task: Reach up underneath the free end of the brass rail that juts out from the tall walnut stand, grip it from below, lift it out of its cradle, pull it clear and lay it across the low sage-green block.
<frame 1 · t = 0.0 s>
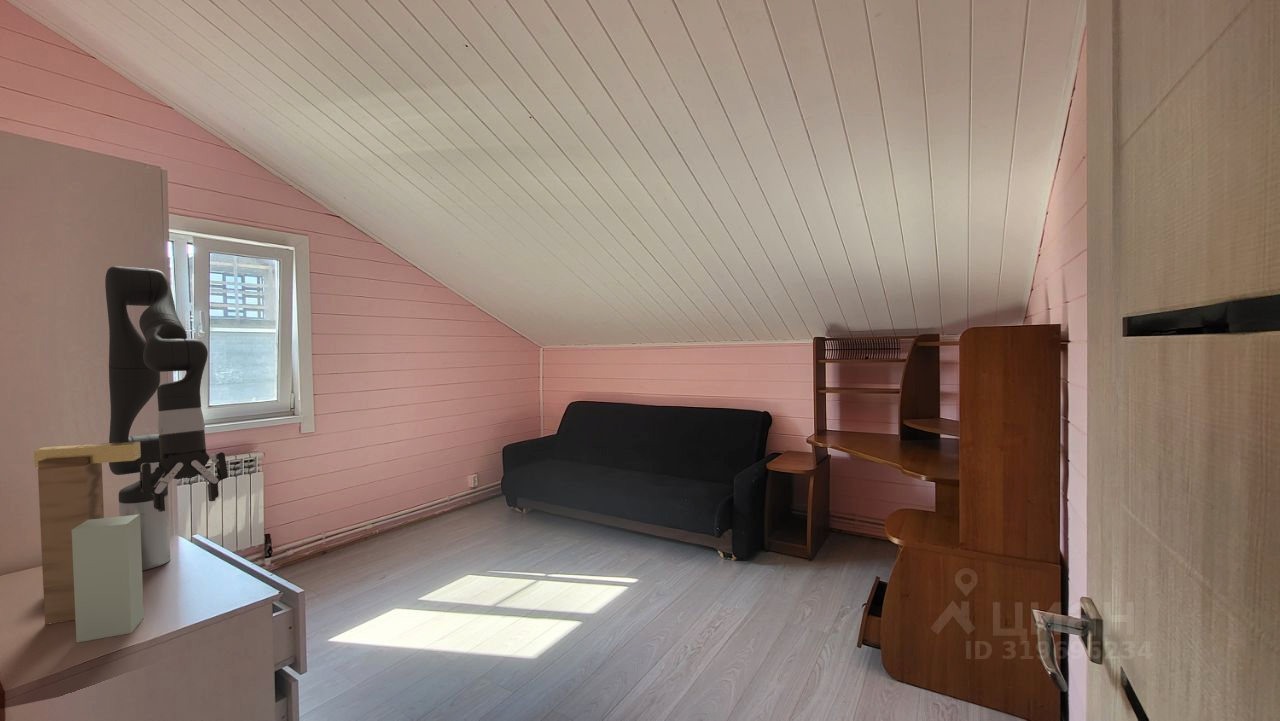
hand: (187, 505, 114), 22 cm above the dresser, tool pointing down, fingers open, 8 cm apart
stand: (77, 612, 113), on the dresser
block: (111, 630, 106), on the dresser
rail: (90, 462, 112), point 32 cm above the dresser, touching stand
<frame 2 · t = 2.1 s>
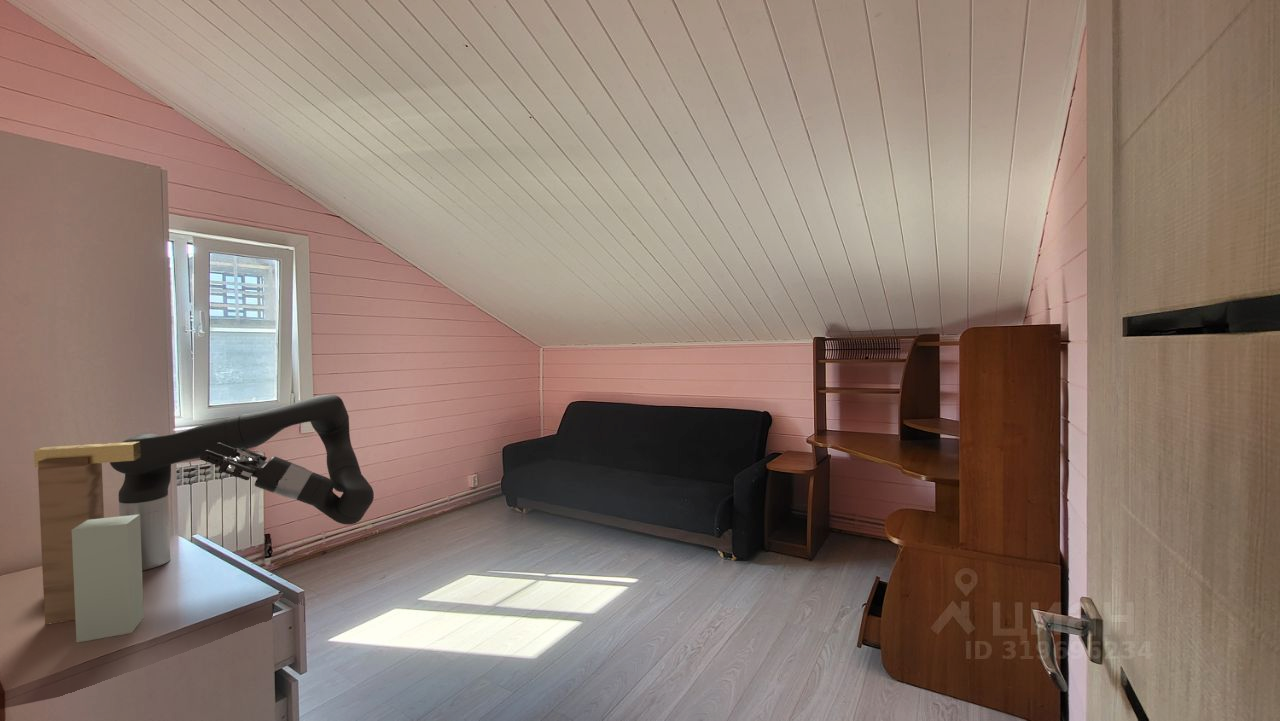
hand: (208, 450, 120), 33 cm above the dresser, tool pointing upward, fingers open, 8 cm apart
nothing on the dresser moved.
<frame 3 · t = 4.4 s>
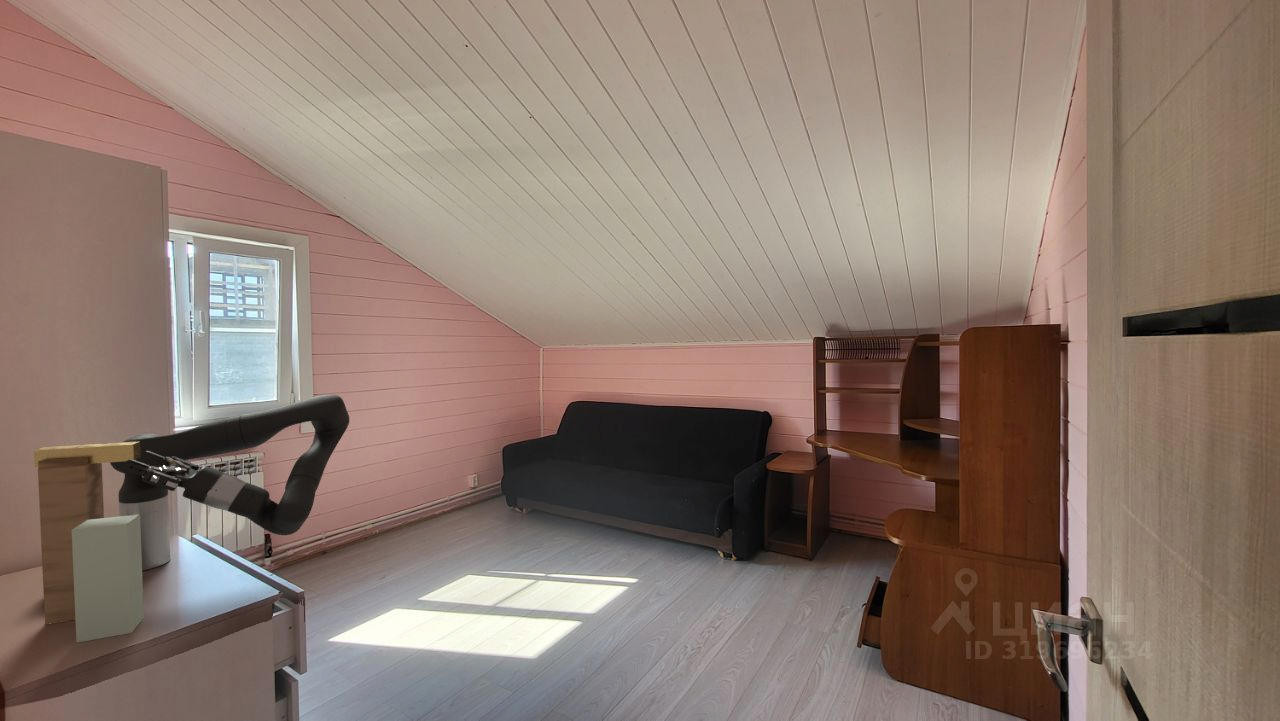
hand: (134, 459, 115), 32 cm above the dresser, tool pointing upward, fingers open, 8 cm apart
nothing on the dresser moved.
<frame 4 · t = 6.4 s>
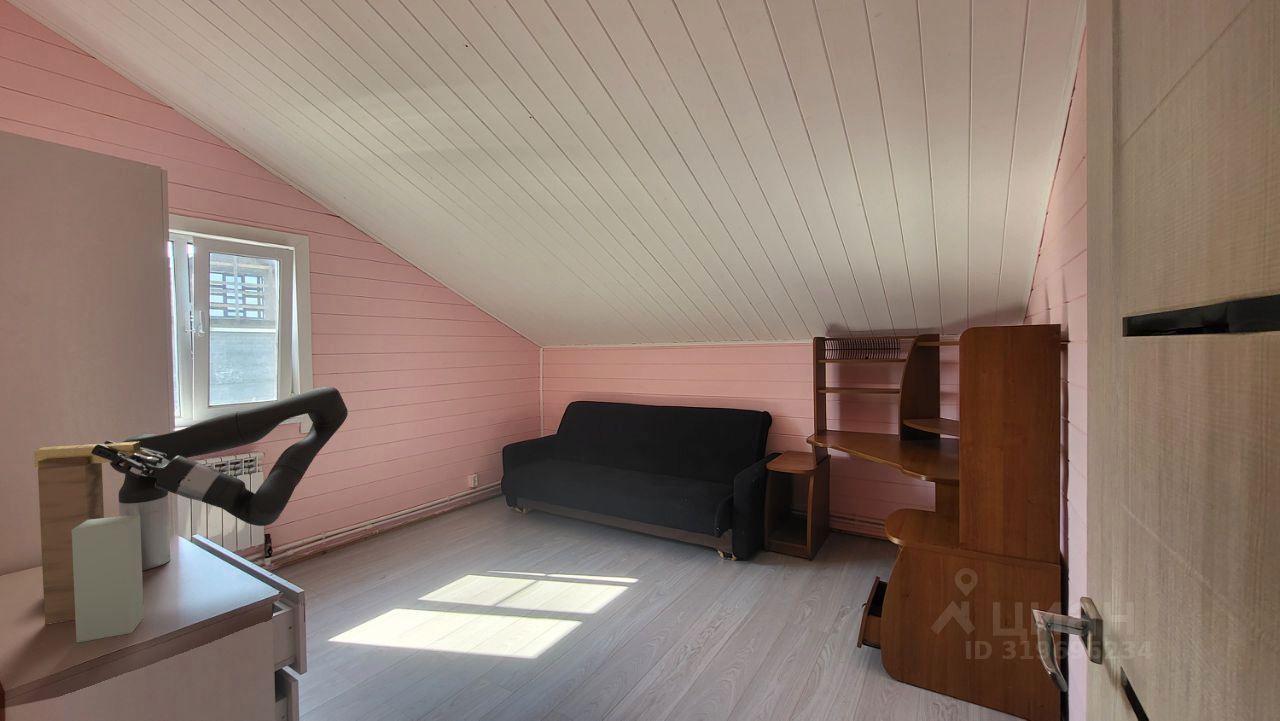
hand: (99, 446, 113), 35 cm above the dresser, tool pointing upward, fingers closed on rail, 3 cm apart
rail: (90, 462, 112), point 32 cm above the dresser, touching gripper, stand
everything else where it was.
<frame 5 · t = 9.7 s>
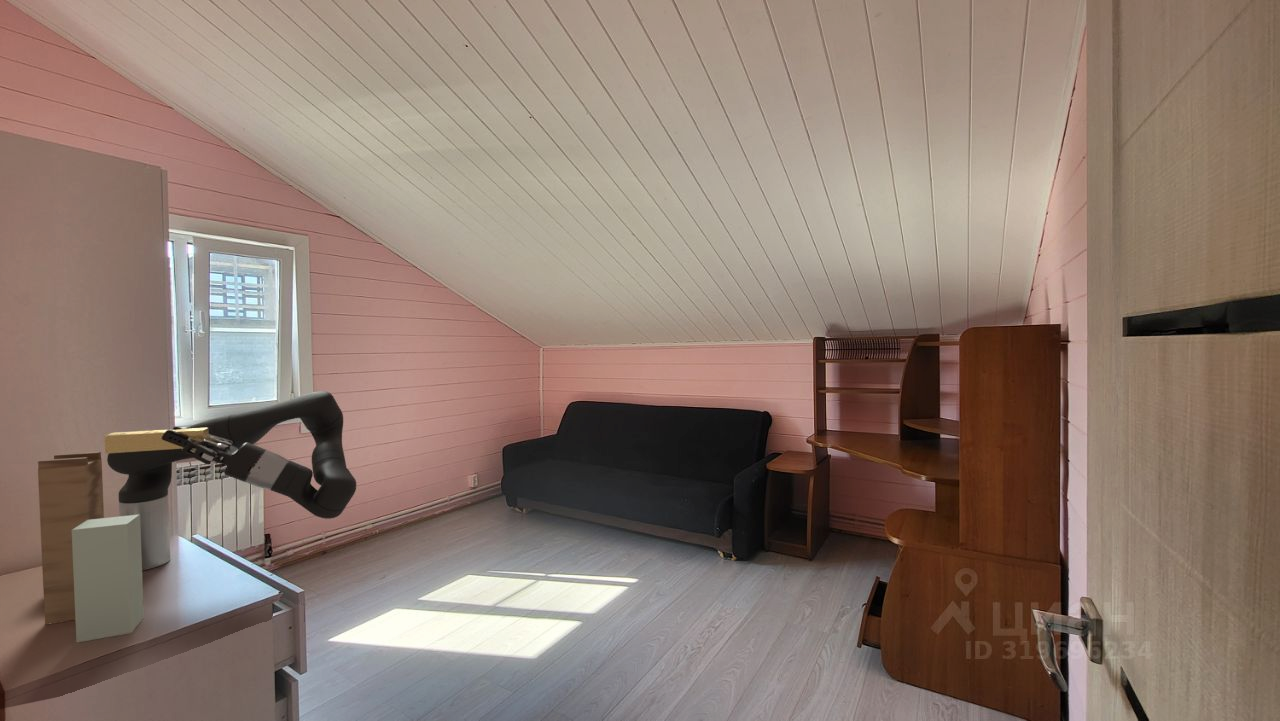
hand: (168, 432, 109), 39 cm above the dresser, tool pointing upward, fingers closed on rail, 3 cm apart
rail: (159, 448, 108), point 36 cm above the dresser, touching gripper
everything else where it was.
when the fingers open (27 cm above the dresser, at t = 13.0 s): rail drops 2 cm, resting on block.
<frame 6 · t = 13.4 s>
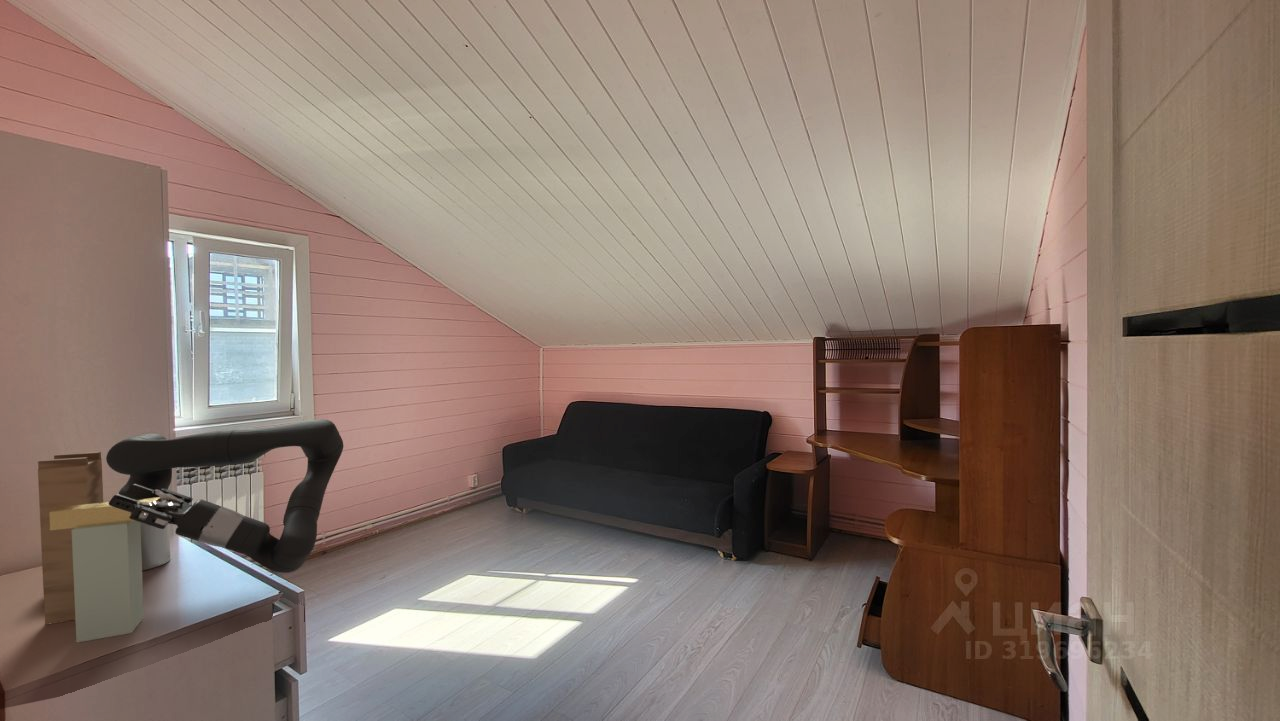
hand: (121, 493, 106), 27 cm above the dresser, tool pointing upward, fingers open, 7 cm apart
rail: (108, 521, 105), point 22 cm above the dresser, touching block
everything else where it was.
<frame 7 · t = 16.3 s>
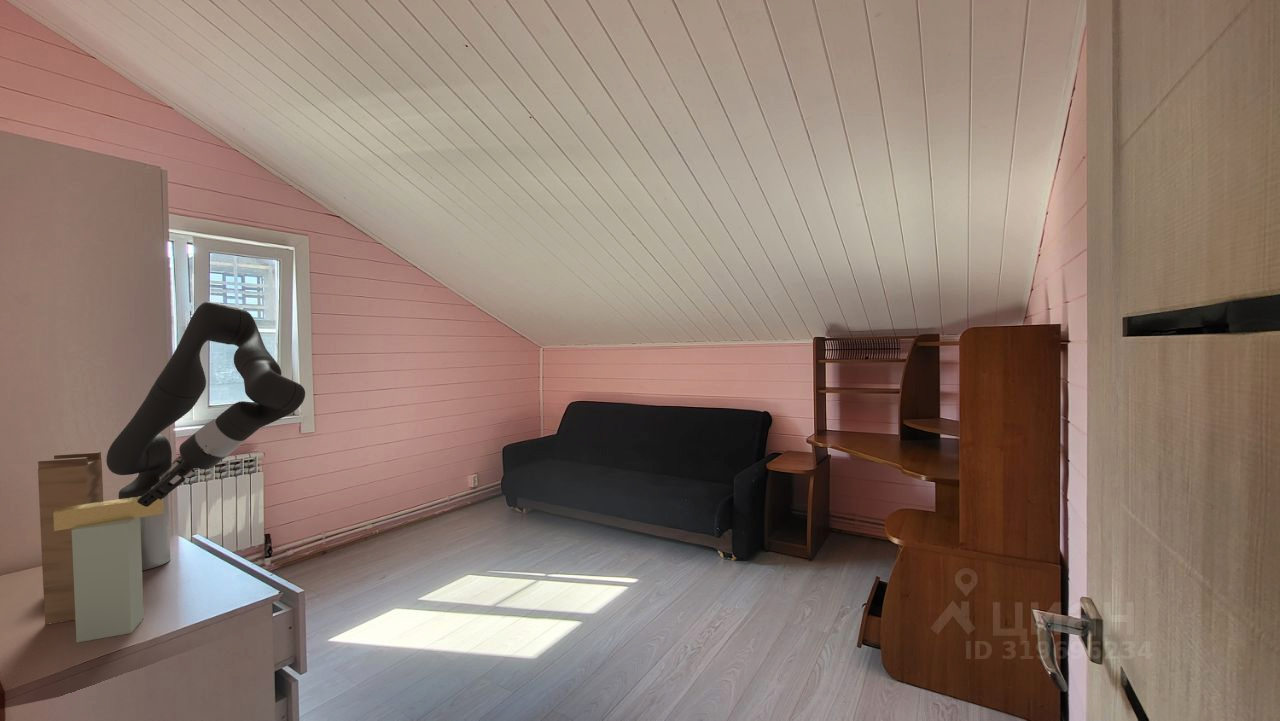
hand: (152, 491, 112), 26 cm above the dresser, tool tilted 50°, fingers open, 8 cm apart
rail: (111, 519, 107), point 22 cm above the dresser, touching block, gripper
everything else where it was.
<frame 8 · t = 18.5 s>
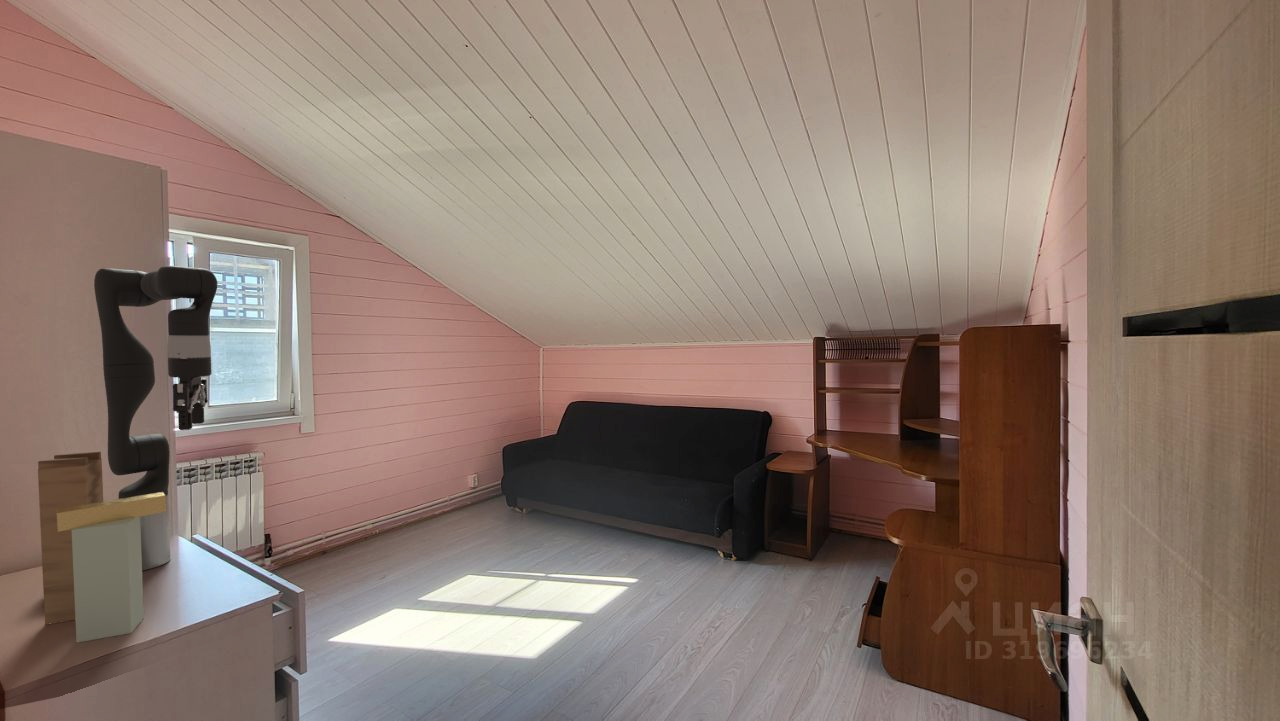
hand: (192, 426, 121), 38 cm above the dresser, tool pointing down, fingers open, 8 cm apart
rail: (114, 519, 107), point 22 cm above the dresser, touching block
everything else where it was.
at the end: rail inside the target area (1.6 cm from its centre), point 22.0 cm above the dresser; the gripper is holding nothing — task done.
